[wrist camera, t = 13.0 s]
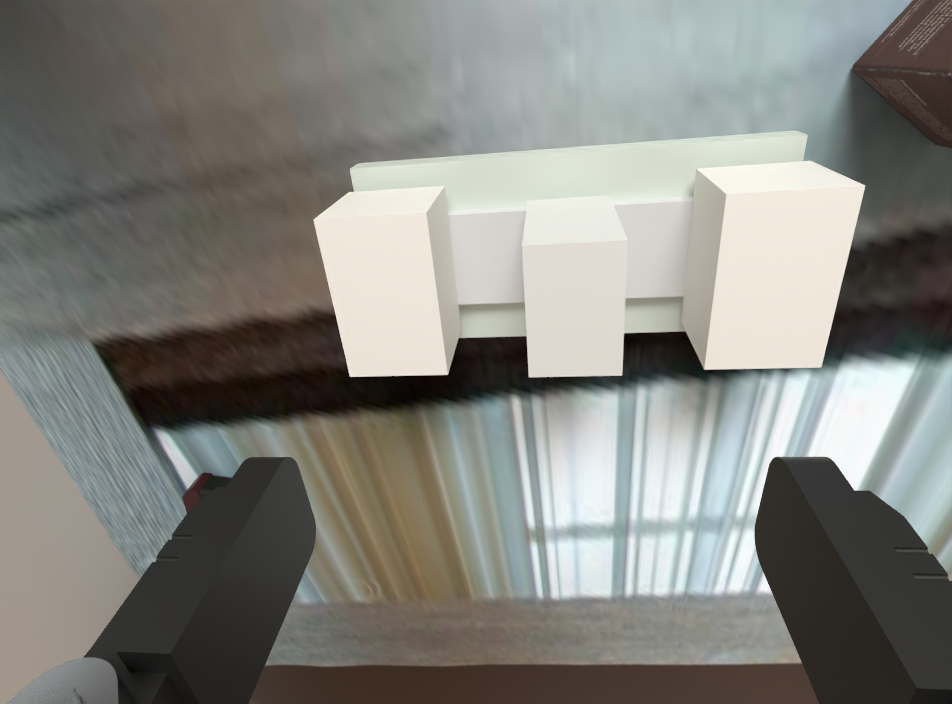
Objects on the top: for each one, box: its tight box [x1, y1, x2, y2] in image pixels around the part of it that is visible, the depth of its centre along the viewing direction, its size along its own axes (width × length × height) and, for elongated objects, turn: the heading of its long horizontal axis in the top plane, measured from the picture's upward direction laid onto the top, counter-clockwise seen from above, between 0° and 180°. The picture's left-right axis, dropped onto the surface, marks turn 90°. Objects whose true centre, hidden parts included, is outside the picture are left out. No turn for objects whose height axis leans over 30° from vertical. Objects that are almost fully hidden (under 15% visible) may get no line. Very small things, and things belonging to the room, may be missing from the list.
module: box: [522, 195, 628, 377], centre depth 26 cm, size 4×6×7 cm, turn 5°
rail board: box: [314, 130, 865, 377], centre depth 28 cm, size 22×10×7 cm, turn 95°
